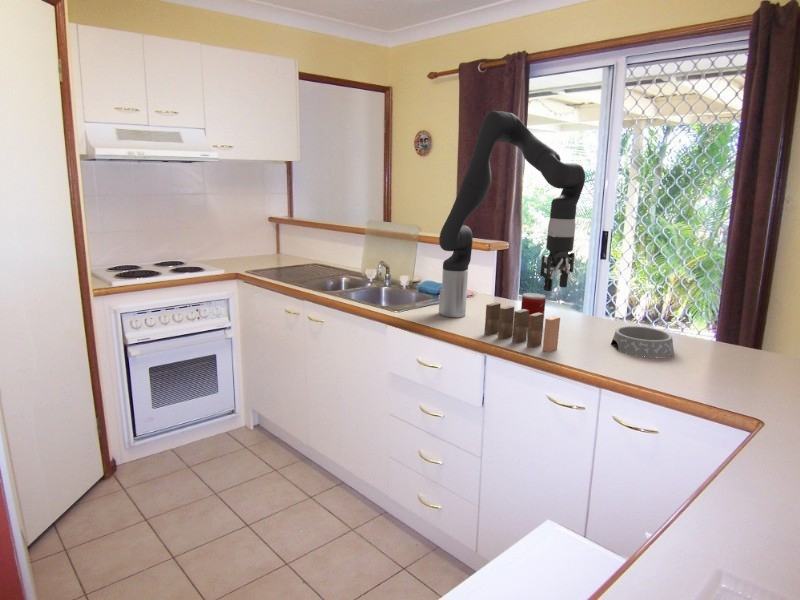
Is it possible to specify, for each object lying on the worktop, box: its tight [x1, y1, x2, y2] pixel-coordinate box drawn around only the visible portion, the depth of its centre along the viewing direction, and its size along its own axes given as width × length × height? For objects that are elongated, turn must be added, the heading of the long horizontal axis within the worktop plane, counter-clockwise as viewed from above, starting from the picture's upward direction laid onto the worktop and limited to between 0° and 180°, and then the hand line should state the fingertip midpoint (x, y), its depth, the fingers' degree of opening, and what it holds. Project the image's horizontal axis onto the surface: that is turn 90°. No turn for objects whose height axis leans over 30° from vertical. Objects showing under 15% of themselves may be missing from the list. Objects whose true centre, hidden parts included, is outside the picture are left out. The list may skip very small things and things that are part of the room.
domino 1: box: [484, 302, 502, 336], centre depth 180 cm, size 2×5×10 cm, turn 133°
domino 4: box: [526, 312, 545, 349], centre depth 168 cm, size 2×5×10 cm, turn 134°
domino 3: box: [511, 308, 529, 344], centre depth 172 cm, size 2×5×10 cm, turn 133°
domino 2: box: [497, 305, 515, 340], centre depth 176 cm, size 2×5×10 cm, turn 134°
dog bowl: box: [610, 325, 675, 358], centre depth 168 cm, size 17×18×5 cm
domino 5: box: [542, 315, 561, 353], centre depth 164 cm, size 2×5×10 cm, turn 134°
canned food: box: [520, 292, 547, 326], centre depth 190 cm, size 8×8×11 cm
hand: (555, 288), depth 161 cm, fingers open, 8 cm apart
